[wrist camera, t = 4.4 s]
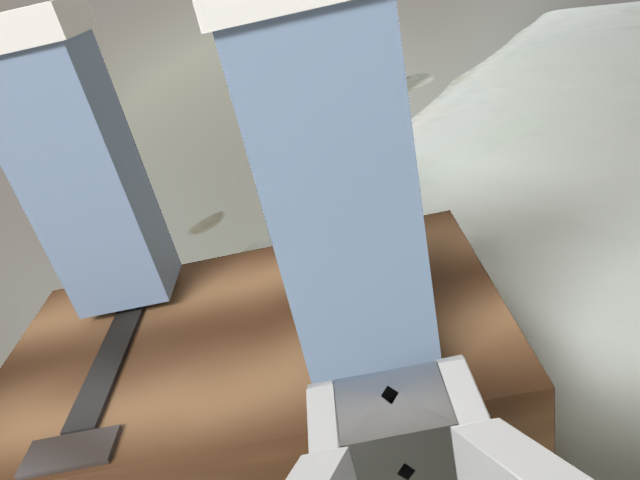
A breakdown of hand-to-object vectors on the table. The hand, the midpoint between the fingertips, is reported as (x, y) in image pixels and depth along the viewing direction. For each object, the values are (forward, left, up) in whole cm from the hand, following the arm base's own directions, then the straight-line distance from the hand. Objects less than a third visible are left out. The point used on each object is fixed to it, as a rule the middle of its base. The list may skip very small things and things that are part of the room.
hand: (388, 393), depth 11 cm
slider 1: (+16, -7, -4) cm, 17 cm away
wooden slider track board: (+9, -6, -9) cm, 14 cm away
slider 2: (+3, -5, -4) cm, 8 cm away
